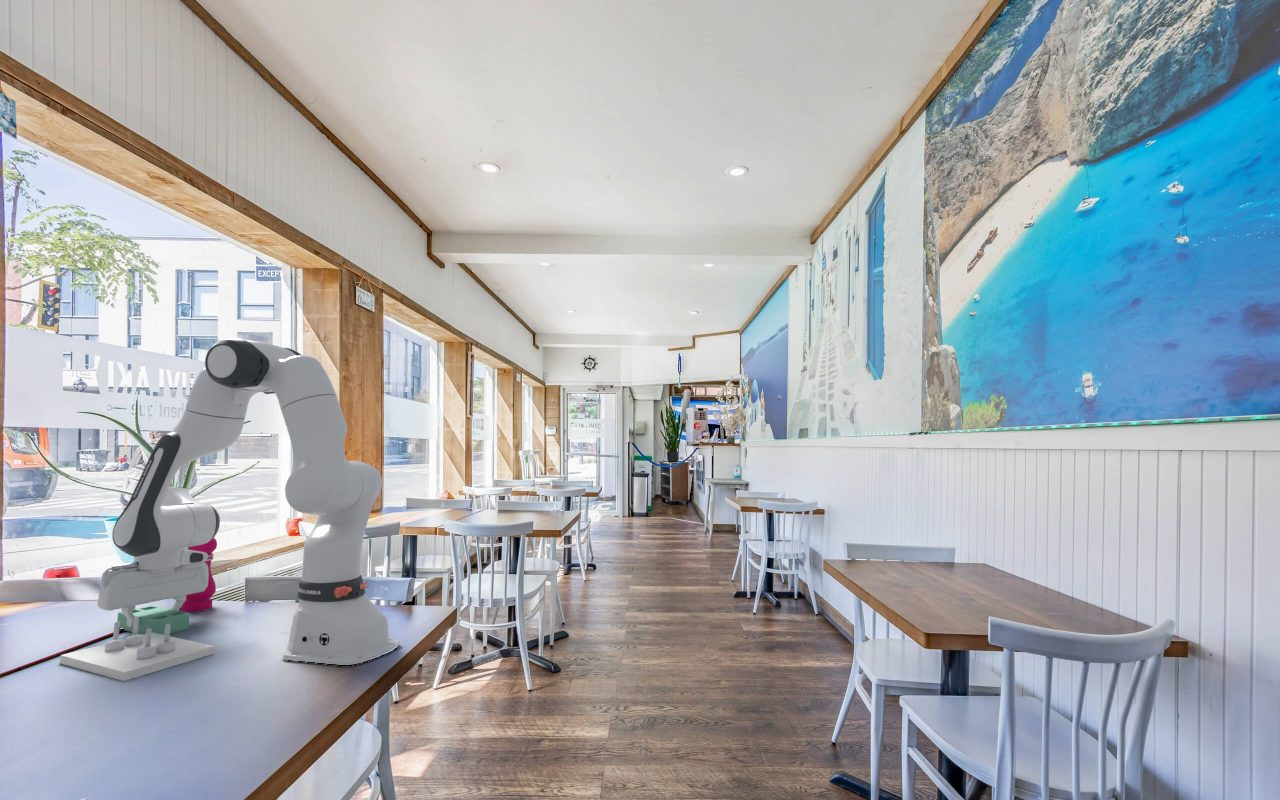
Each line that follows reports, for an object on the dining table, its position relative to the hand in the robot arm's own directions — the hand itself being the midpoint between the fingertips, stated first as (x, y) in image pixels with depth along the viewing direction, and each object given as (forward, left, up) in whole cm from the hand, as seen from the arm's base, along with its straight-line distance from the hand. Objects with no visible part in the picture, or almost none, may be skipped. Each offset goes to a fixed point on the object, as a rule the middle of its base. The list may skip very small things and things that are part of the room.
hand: (153, 620), depth 128 cm
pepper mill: (+8, -14, -2) cm, 16 cm away
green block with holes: (0, 0, -2) cm, 2 cm away
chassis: (-18, +12, -2) cm, 22 cm away
